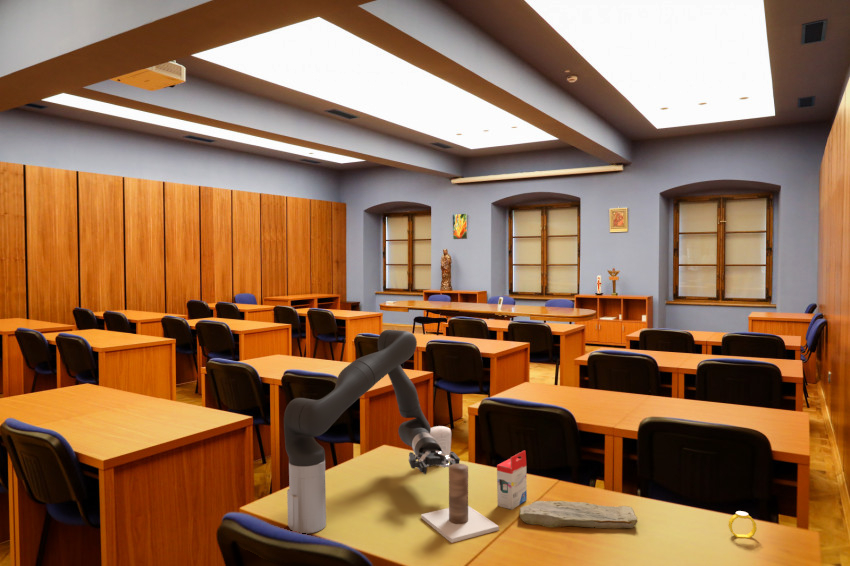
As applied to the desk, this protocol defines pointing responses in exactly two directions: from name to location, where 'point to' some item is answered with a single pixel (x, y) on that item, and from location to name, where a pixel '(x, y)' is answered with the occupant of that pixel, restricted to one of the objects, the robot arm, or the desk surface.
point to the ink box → (512, 481)
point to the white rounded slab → (442, 438)
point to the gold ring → (742, 515)
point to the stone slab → (577, 515)
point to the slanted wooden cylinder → (458, 493)
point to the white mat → (459, 525)
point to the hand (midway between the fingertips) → (440, 470)
